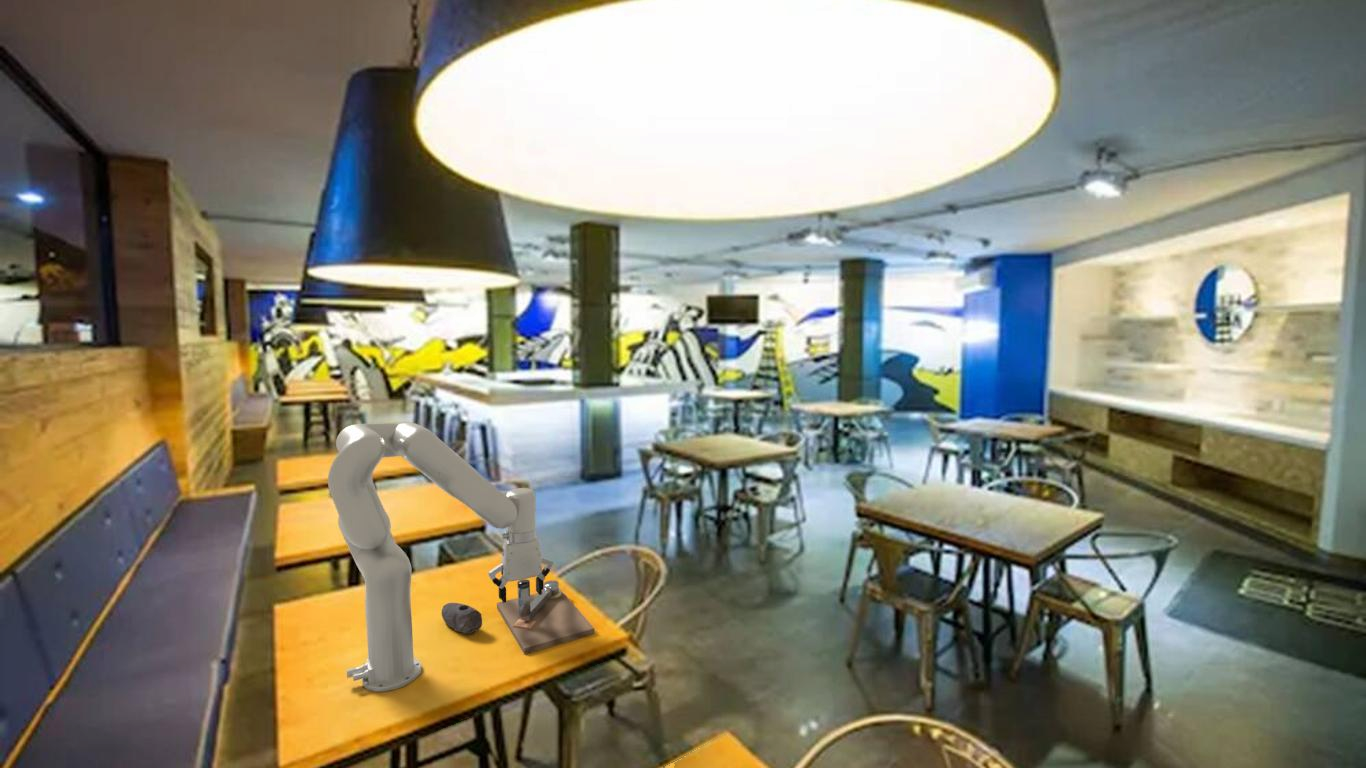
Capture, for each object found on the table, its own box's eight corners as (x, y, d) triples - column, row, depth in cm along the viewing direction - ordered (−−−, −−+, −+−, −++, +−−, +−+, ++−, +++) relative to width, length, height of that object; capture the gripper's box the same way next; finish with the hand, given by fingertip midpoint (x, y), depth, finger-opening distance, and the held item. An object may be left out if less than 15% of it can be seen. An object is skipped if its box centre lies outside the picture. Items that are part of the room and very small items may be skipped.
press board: (524, 654, 150) (524, 647, 150) (496, 608, 174) (496, 602, 174) (594, 633, 160) (594, 627, 160) (559, 592, 184) (559, 587, 183)
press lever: (514, 624, 160) (513, 584, 159) (547, 588, 182) (546, 552, 180) (529, 625, 159) (528, 585, 158) (560, 589, 181) (560, 553, 179)
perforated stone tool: (435, 624, 165) (434, 600, 164) (452, 616, 169) (451, 593, 169) (467, 641, 156) (466, 616, 156) (484, 632, 161) (483, 608, 160)
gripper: (491, 545, 151) (492, 609, 153) (557, 534, 160) (556, 595, 161) (484, 536, 157) (485, 598, 159) (548, 526, 166) (548, 584, 168)
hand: (521, 596), depth 160 cm, fingers open, 9 cm apart
